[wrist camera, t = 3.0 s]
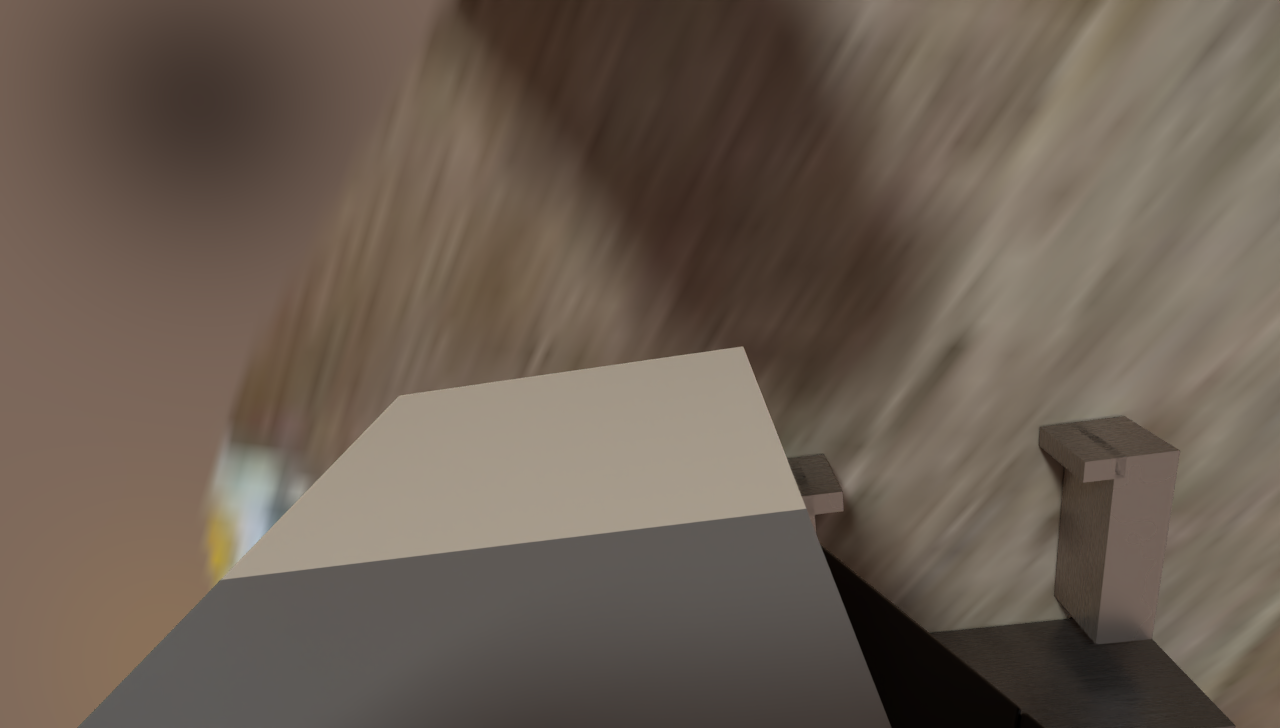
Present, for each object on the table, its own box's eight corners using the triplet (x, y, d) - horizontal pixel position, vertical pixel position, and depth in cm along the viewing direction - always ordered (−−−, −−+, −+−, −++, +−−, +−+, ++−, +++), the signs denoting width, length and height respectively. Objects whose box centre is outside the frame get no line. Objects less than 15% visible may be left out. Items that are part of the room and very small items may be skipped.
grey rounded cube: (742, 346, 9) (894, 735, 3) (775, 628, 10) (909, 1207, 5) (399, 395, 9) (-8, 817, 4) (483, 659, 11) (297, 1224, 5)
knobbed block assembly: (719, 467, 18) (739, 576, 14) (1153, 412, 17) (1323, 510, 13) (756, 740, 22) (780, 894, 18) (1114, 707, 21) (1237, 863, 17)
